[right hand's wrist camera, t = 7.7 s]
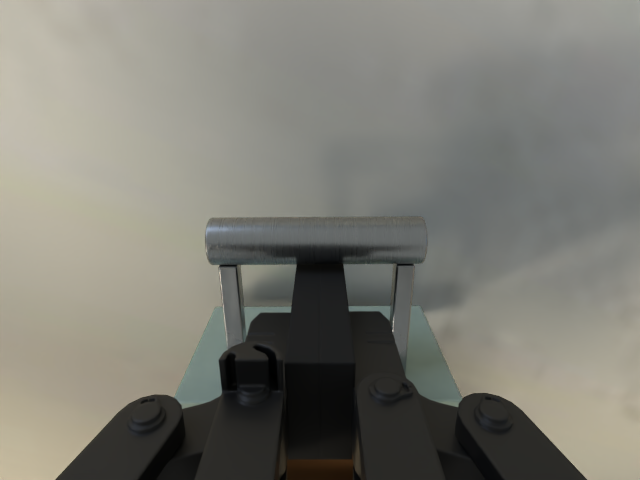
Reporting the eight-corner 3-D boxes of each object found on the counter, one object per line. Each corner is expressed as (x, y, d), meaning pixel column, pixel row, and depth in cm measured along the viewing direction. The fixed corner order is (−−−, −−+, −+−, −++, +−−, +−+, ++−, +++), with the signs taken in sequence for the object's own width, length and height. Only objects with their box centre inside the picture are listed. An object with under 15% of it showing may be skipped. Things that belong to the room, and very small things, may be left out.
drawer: (201, 184, 17) (141, 236, 11) (432, 182, 17) (490, 234, 11) (237, 505, 24) (212, 638, 18) (401, 504, 24) (427, 636, 18)
